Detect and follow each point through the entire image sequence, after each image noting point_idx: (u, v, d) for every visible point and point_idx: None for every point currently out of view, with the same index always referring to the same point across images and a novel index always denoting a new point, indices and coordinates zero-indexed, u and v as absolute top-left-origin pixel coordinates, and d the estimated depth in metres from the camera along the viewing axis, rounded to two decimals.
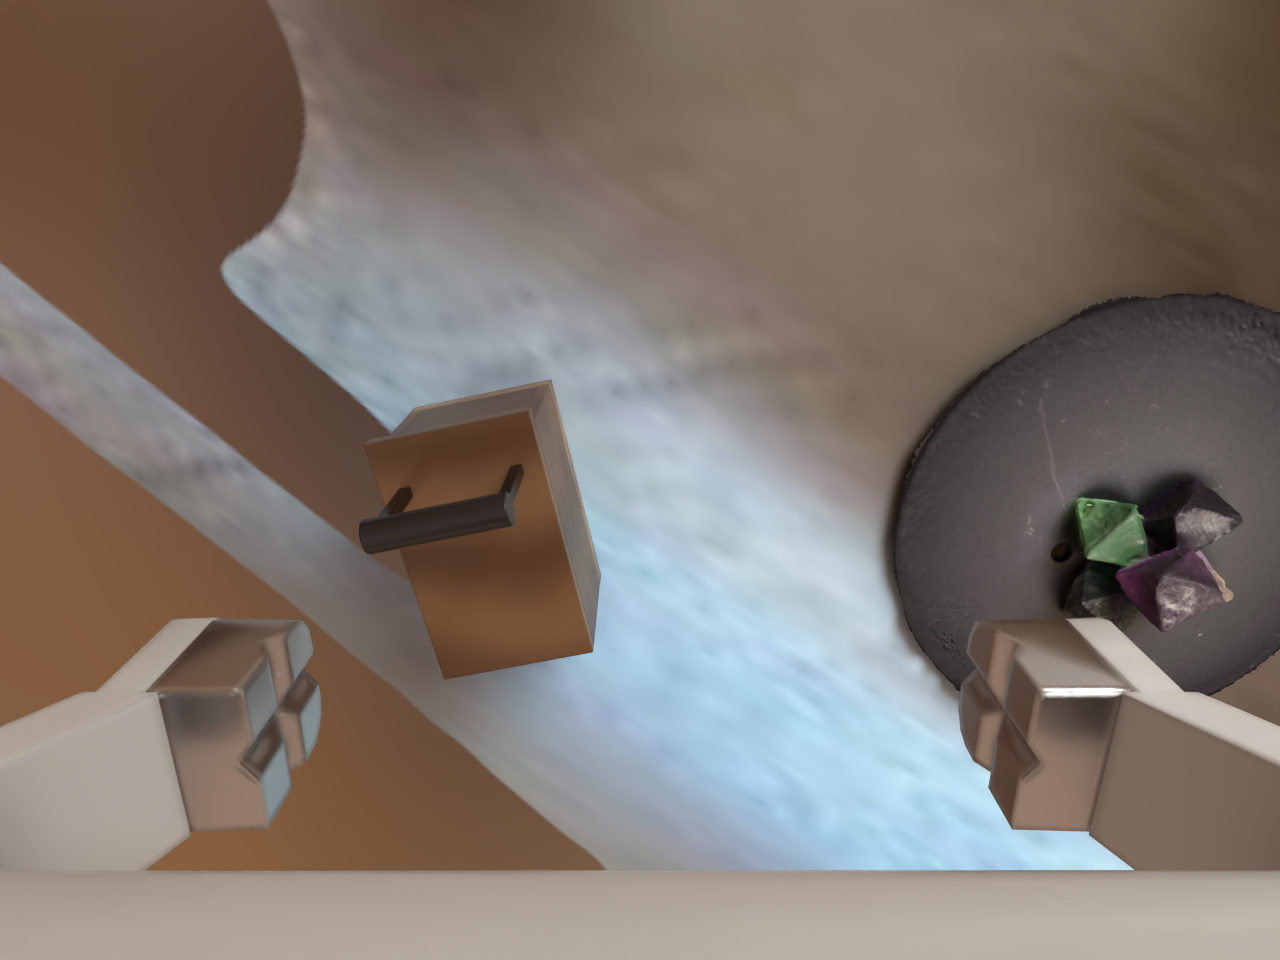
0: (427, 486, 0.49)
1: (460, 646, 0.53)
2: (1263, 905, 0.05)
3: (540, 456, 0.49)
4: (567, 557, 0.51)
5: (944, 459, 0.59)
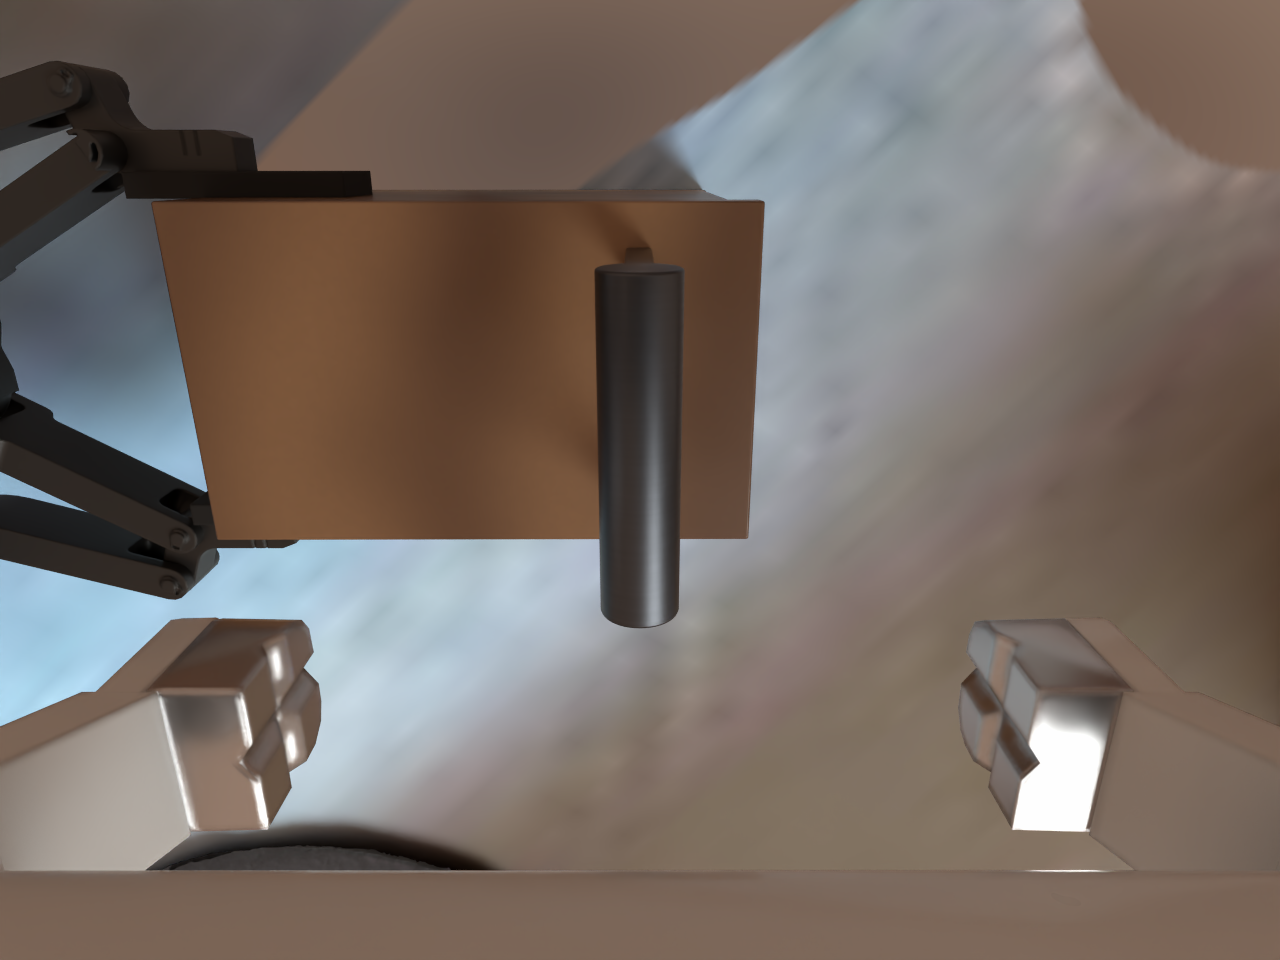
0: None
1: (242, 268, 0.23)
2: (1263, 905, 0.05)
3: None
4: (439, 537, 0.26)
5: None
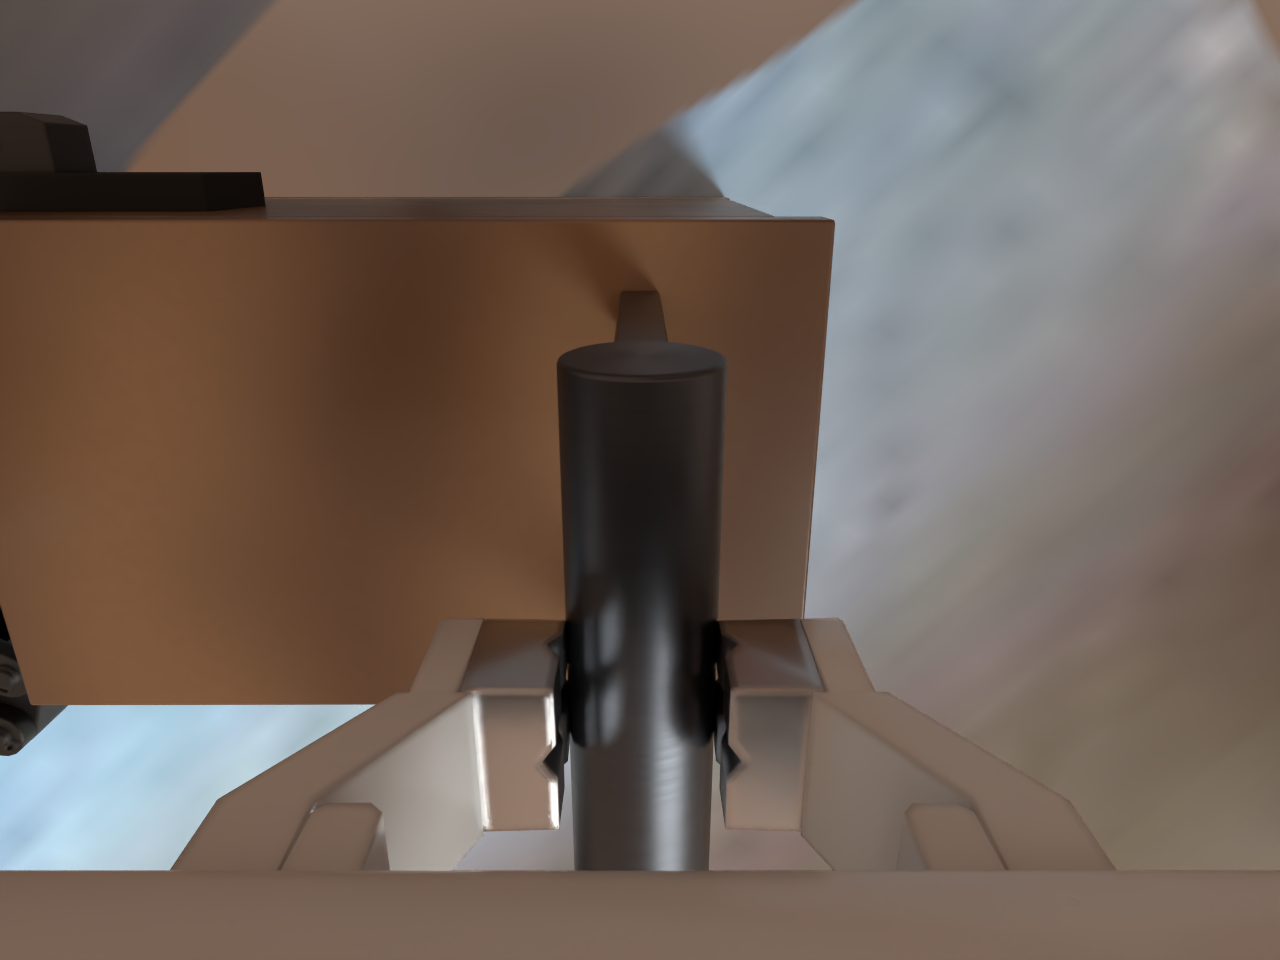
0: None
1: (32, 321, 0.15)
2: (1263, 905, 0.05)
3: None
4: (351, 701, 0.18)
5: None
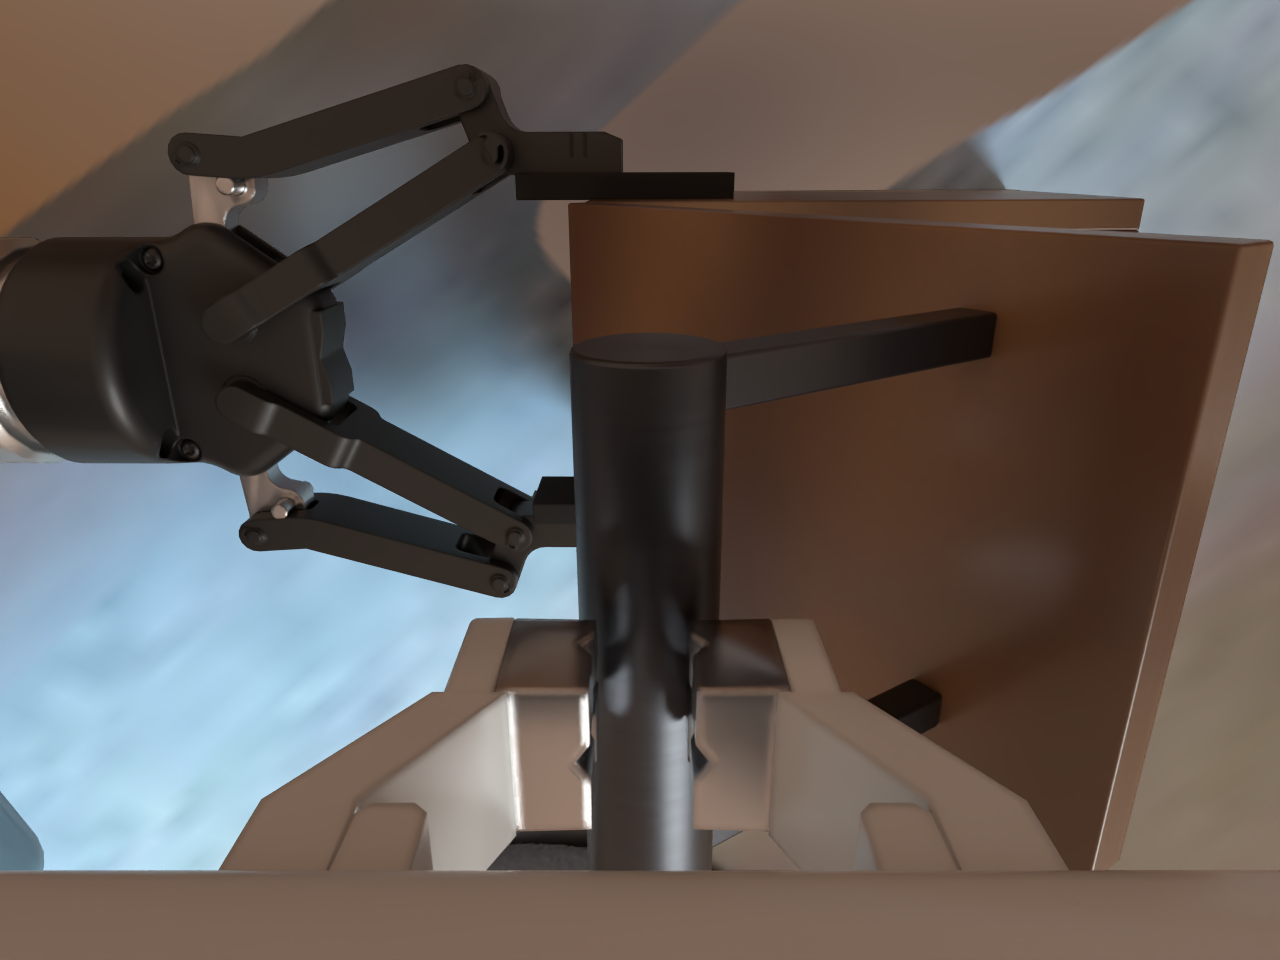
0: (969, 414, 0.13)
1: (610, 276, 0.21)
2: (1263, 905, 0.05)
3: None
4: None
5: None
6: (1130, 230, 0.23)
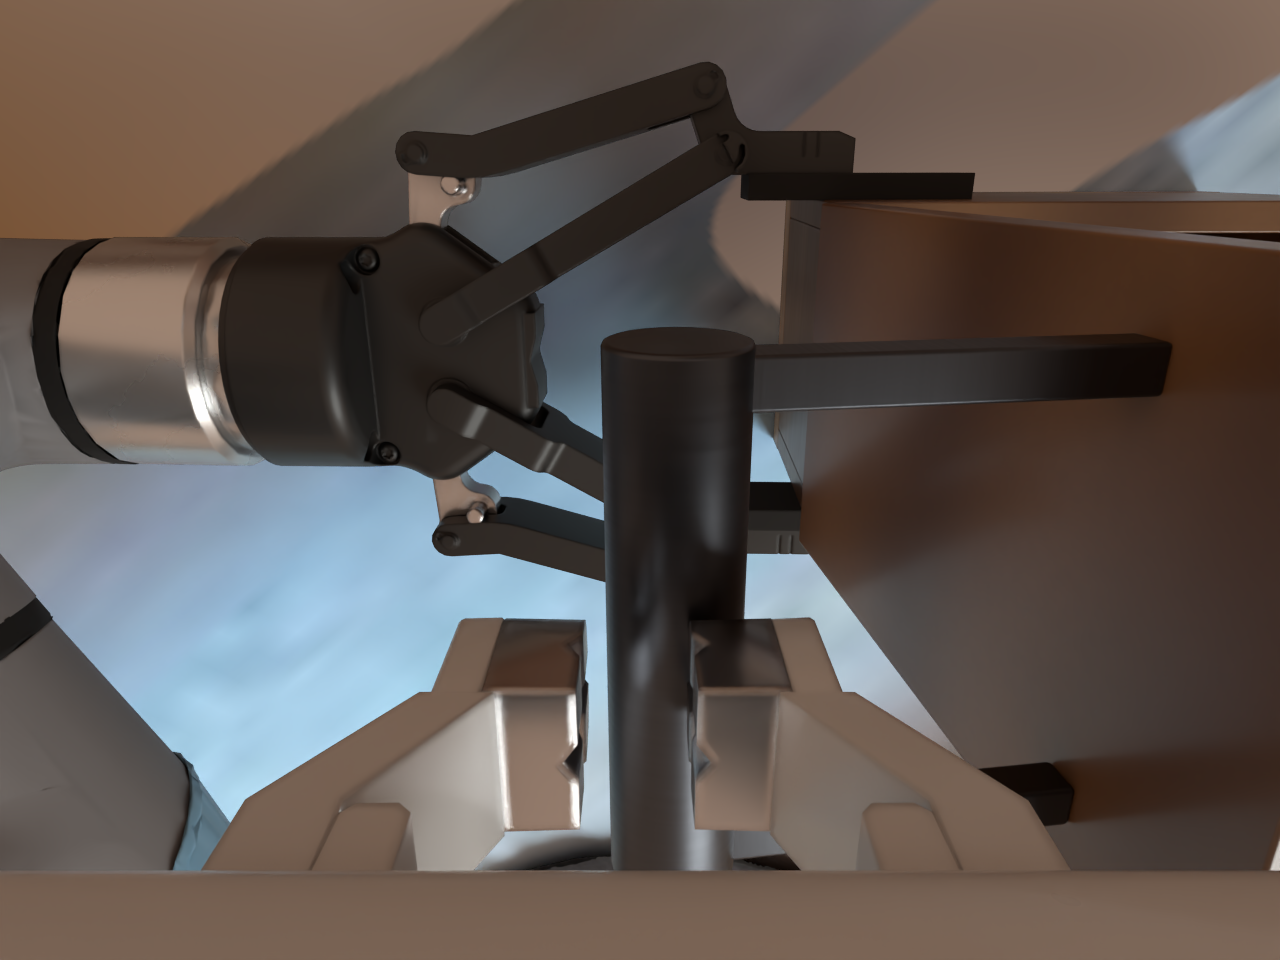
0: (1133, 463, 0.11)
1: (844, 279, 0.21)
2: (1263, 905, 0.05)
3: None
4: None
5: None
6: None
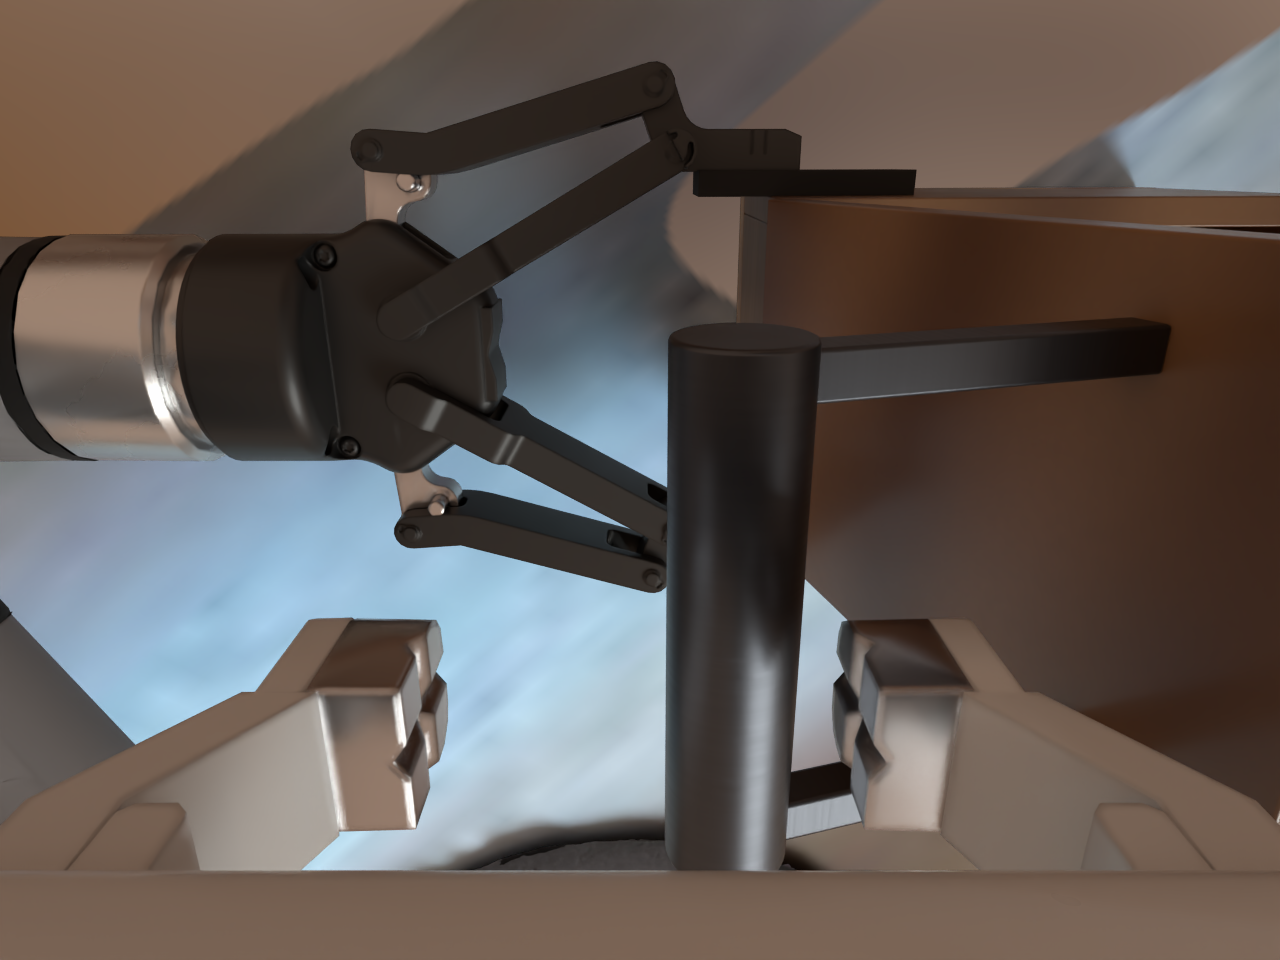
0: (1134, 435, 0.12)
1: (798, 272, 0.22)
2: (1263, 905, 0.05)
3: None
4: None
5: None
6: None
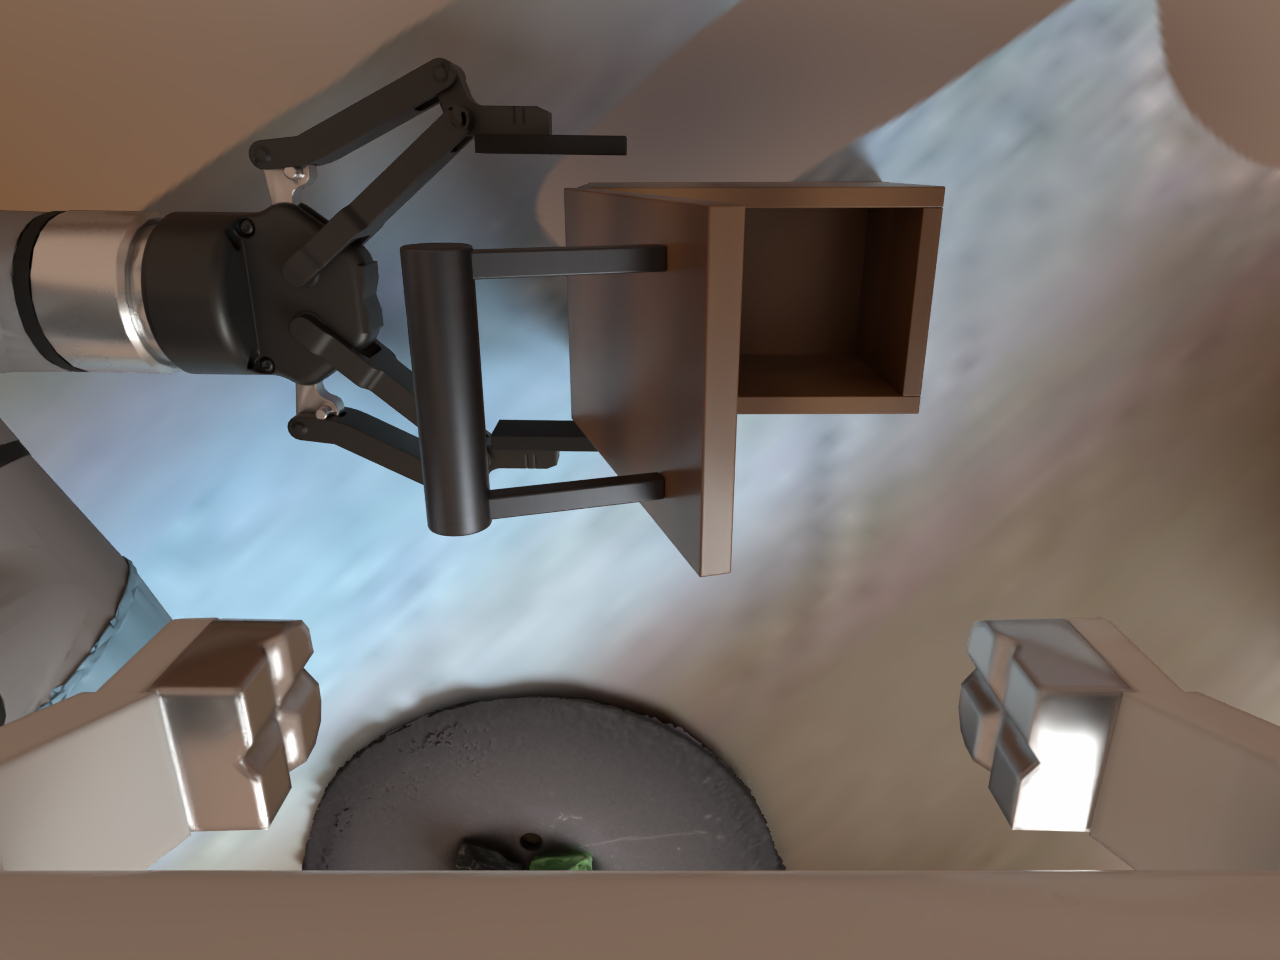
0: (664, 305, 0.24)
1: (576, 235, 0.33)
2: (1263, 905, 0.05)
3: None
4: None
5: (664, 751, 0.56)
6: (938, 207, 0.35)
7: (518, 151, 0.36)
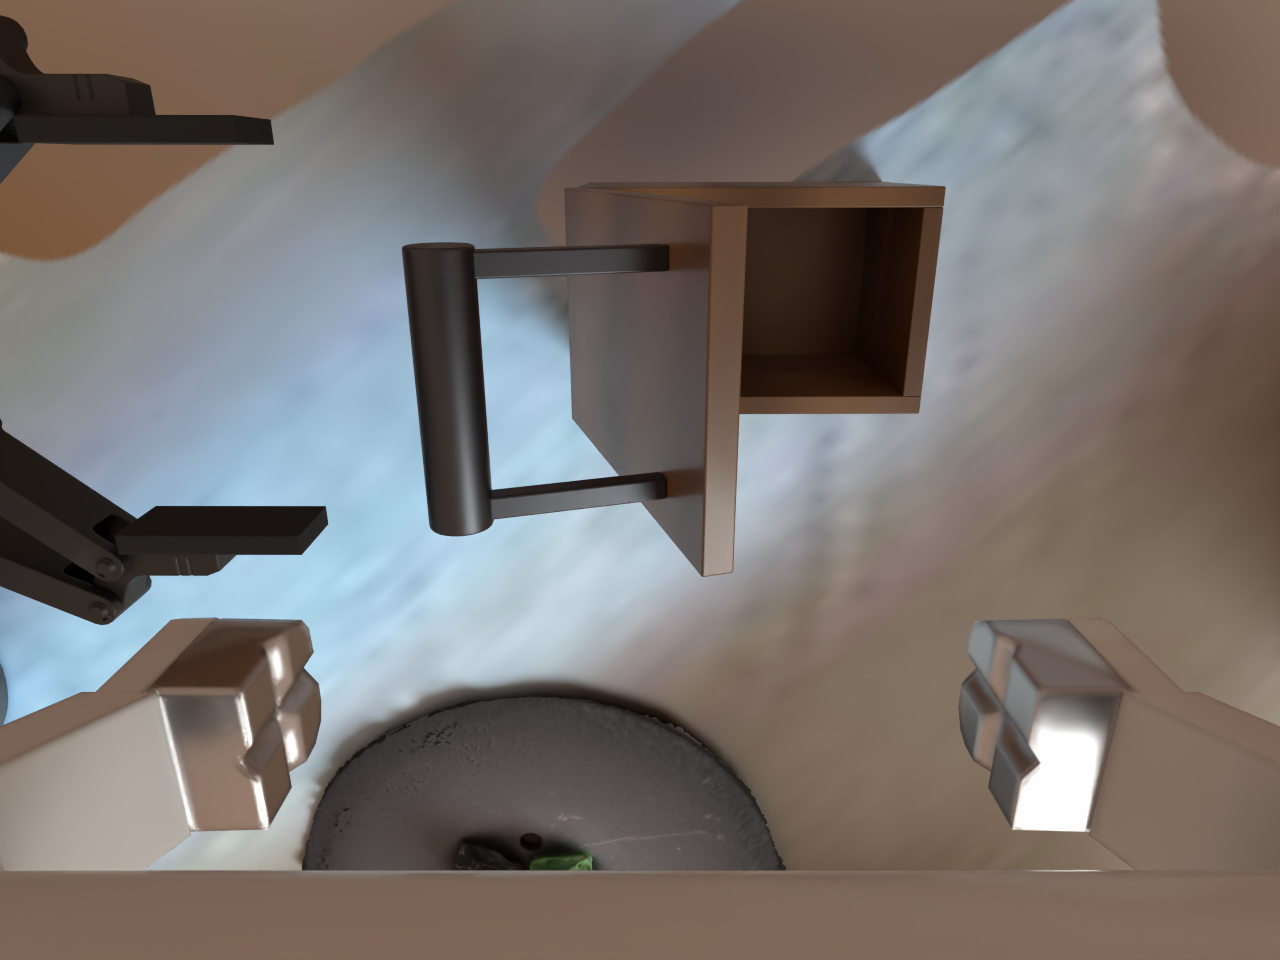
0: (666, 305, 0.24)
1: (577, 235, 0.33)
2: (1263, 905, 0.05)
3: None
4: None
5: (664, 751, 0.56)
6: (938, 207, 0.35)
7: (81, 139, 0.25)
